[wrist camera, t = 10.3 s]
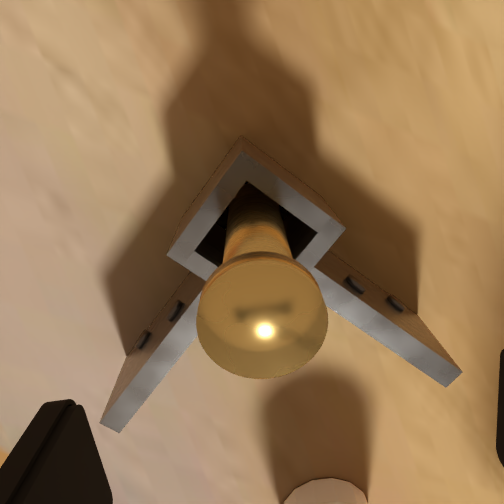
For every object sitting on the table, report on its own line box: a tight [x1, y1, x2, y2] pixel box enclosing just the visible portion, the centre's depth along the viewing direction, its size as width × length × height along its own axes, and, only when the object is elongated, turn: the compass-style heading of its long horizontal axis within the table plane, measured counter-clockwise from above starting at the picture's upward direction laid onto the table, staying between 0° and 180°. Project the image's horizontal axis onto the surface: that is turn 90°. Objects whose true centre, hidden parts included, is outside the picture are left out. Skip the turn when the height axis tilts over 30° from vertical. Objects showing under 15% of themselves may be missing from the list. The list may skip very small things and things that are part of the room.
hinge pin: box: [196, 183, 328, 379], centre depth 19 cm, size 4×4×13 cm
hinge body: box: [100, 136, 462, 433], centre depth 25 cm, size 16×16×6 cm
